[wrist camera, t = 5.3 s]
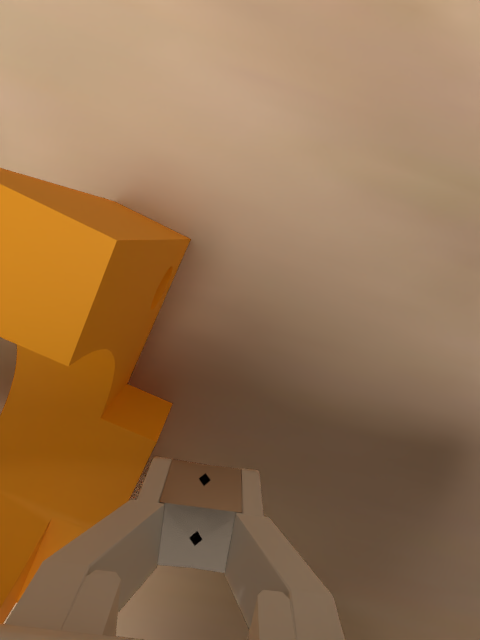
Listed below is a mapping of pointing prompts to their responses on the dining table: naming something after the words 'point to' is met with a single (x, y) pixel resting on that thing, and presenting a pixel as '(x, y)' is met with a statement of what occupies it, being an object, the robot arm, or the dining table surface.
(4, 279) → the pipe clamp
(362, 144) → the dining table surface
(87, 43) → the dining table surface
